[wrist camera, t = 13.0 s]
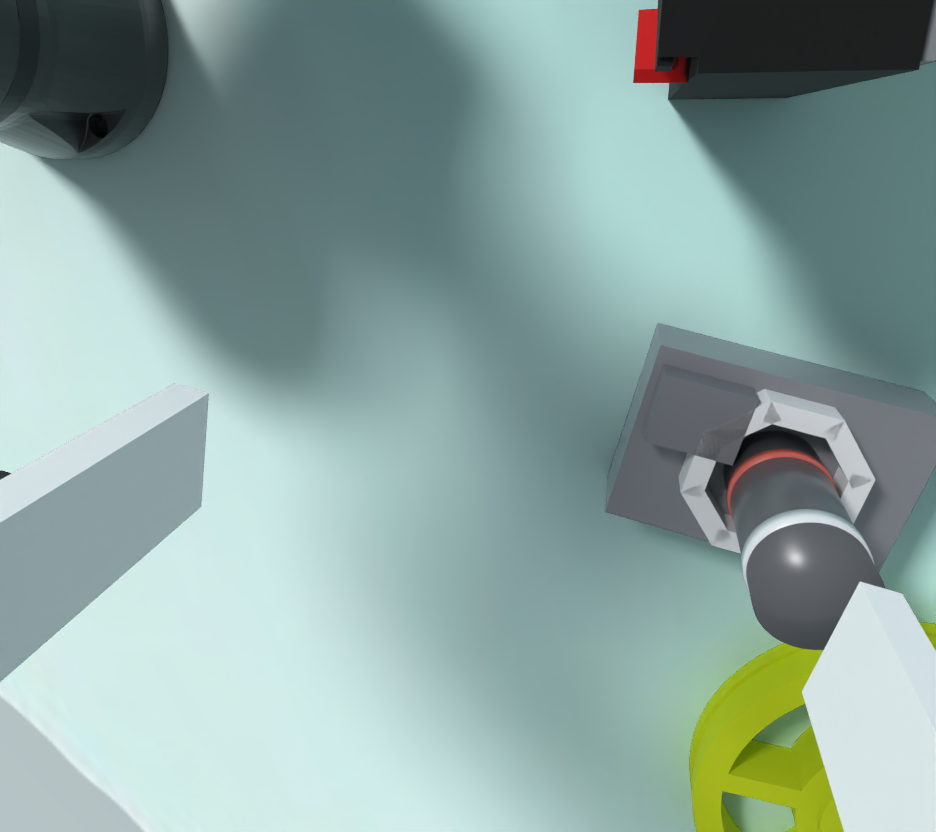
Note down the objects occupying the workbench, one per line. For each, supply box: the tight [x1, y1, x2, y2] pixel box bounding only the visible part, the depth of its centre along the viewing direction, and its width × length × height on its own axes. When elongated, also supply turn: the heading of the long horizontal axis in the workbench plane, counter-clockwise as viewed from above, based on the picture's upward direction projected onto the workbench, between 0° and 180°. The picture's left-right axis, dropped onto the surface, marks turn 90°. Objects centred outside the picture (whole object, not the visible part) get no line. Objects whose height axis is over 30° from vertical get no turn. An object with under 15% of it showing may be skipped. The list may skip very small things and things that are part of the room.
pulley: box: [689, 622, 936, 832], centre depth 51 cm, size 28×28×5 cm
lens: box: [724, 431, 885, 650], centre depth 36 cm, size 5×5×12 cm
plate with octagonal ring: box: [605, 323, 936, 573], centre depth 43 cm, size 16×11×7 cm
